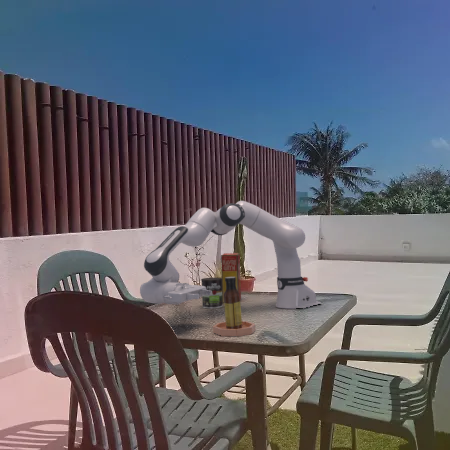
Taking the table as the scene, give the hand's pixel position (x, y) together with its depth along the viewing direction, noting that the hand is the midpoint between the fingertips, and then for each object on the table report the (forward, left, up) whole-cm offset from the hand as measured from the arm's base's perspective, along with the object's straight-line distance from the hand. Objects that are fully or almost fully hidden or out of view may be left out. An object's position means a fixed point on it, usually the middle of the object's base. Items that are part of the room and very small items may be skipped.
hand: (205, 294), depth 189 cm
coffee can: (-25, -44, -14) cm, 53 cm away
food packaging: (-41, -53, -14) cm, 69 cm away
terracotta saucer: (-7, +10, -14) cm, 18 cm away
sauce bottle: (-7, +10, -13) cm, 17 cm away
